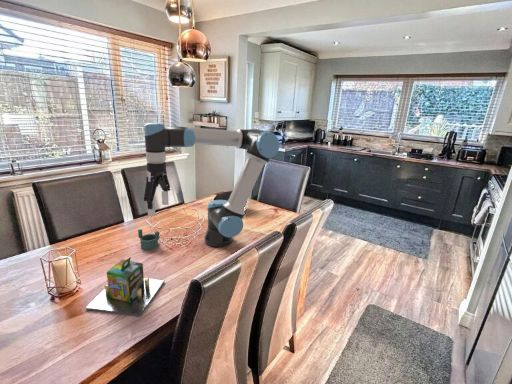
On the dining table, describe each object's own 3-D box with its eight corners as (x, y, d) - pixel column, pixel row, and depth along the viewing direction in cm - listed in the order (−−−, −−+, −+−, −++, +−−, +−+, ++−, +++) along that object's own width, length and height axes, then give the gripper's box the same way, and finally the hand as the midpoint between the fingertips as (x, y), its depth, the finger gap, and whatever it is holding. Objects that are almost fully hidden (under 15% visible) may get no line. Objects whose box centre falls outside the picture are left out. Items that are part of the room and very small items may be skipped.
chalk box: (125, 284, 111) (121, 251, 107) (145, 288, 110) (143, 255, 105) (108, 298, 103) (104, 263, 98) (130, 303, 101) (127, 267, 97)
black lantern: (218, 187, 211) (245, 187, 198) (222, 205, 216) (249, 207, 203) (205, 194, 199) (233, 194, 186) (210, 213, 204) (238, 215, 191)
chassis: (164, 282, 115) (163, 270, 114) (140, 316, 96) (139, 303, 95) (118, 277, 117) (117, 265, 116) (86, 309, 98) (84, 296, 97)
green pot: (160, 248, 142) (159, 232, 140) (141, 251, 138) (140, 235, 135) (156, 241, 150) (156, 225, 147) (138, 244, 145) (137, 228, 143)
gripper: (160, 156, 127) (162, 200, 133) (131, 167, 103) (135, 220, 109) (176, 157, 126) (178, 201, 132) (150, 168, 102) (154, 221, 108)
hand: (158, 210), depth 121 cm, fingers open, 13 cm apart
